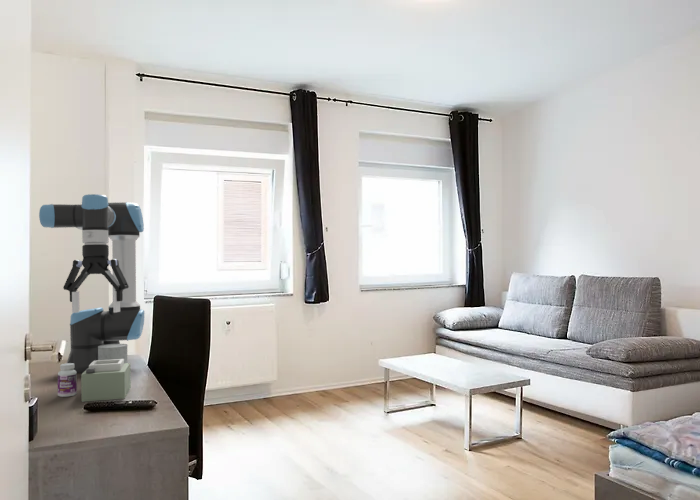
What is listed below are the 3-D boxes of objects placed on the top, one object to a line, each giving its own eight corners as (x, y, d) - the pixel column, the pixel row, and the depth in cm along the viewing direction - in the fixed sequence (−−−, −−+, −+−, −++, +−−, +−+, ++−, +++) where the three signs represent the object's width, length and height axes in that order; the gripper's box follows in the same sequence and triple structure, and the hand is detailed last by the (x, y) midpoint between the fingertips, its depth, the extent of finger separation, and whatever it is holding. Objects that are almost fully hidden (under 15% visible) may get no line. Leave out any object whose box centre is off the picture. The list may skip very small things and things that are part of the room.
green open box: (91, 390, 188) (90, 359, 188) (130, 387, 191) (130, 356, 191) (81, 401, 172) (81, 367, 172) (124, 398, 175) (124, 365, 175)
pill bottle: (58, 398, 178) (58, 366, 178) (56, 394, 182) (56, 363, 182) (78, 395, 181) (77, 364, 181) (75, 392, 185) (75, 361, 185)
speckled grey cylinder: (117, 384, 196) (117, 347, 196) (92, 383, 198) (91, 347, 198) (133, 378, 205) (133, 343, 206) (109, 378, 207) (108, 343, 207)
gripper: (50, 244, 180) (51, 313, 179) (127, 242, 177) (128, 312, 176) (65, 245, 187) (66, 311, 187) (139, 243, 184) (140, 310, 184)
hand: (96, 312), depth 182 cm, fingers open, 13 cm apart
